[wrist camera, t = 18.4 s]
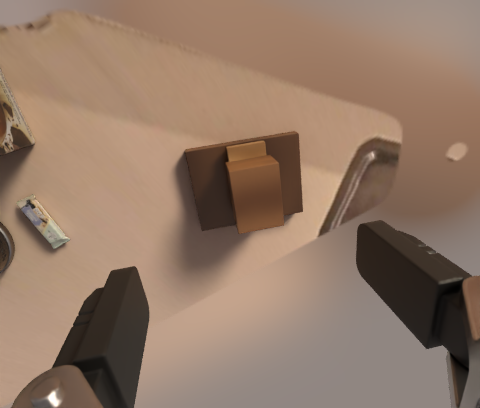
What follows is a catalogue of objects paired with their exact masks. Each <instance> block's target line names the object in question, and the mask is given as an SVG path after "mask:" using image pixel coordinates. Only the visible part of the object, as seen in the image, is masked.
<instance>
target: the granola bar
mask: <svg viewBox="0 0 480 408" xmlns="http://www.w3.org/2000/svg"><path fill="white" fill-rule="evenodd" d="M17 205H18V206H19V207H20V209H21V211H22V212H23V213H24V214H25V215H26V217H27V218H28V219H29V220H30V221H31V222H32V224H33V225H34V226H35V227H36V228H37V229H38V230H39V232H40V233H41V234H42V235H43V236H44V237H45V239H46V240H47V241H48V242H49V243H50V244H52V247H53V248H54V249H55V248H57V247H59V246H60V245H62V244H63V243H66V242H68V241H70V239H69V238H68V237H66V236H65V234H64V233H63V231H62V230H61V229H60V228H59V227H58V225H57V224H56V223H55V222H54V220H53V219H52V218H51V217H50V216H49V214H48V213H47V212H46V211H45V210H44V208H43V207H42V206H41V205H40V203H39V202H38V201H37V200H35V196H34V194H32V195H30V196H29V197H27V198H25V199H23V200H20V201H18V202H17Z"/></svg>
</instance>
